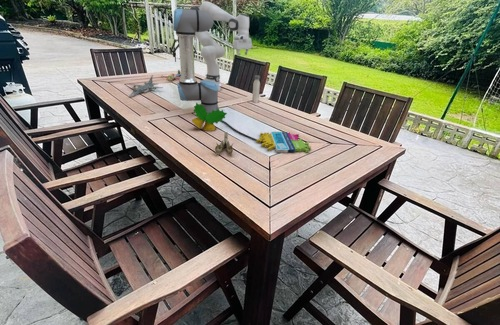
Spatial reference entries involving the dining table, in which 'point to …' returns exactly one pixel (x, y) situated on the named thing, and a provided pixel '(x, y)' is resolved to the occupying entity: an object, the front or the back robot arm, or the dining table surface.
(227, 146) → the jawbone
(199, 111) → the ornament
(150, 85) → the airplane
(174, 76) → the toy
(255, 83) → the bottle
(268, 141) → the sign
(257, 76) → the cap
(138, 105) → the dining table surface
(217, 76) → the back robot arm
